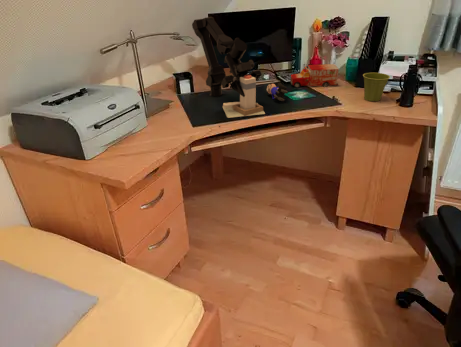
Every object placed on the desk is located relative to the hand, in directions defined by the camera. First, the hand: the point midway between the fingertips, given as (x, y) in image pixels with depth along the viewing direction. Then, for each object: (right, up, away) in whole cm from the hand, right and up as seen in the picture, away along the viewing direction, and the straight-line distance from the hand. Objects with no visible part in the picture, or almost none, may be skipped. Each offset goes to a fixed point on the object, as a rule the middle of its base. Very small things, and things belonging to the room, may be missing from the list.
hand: (249, 95), depth 155 cm
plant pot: (+60, +1, +14) cm, 62 cm away
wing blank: (-7, -3, +10) cm, 13 cm away
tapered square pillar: (0, -5, +4) cm, 7 cm away
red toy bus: (+37, +14, +38) cm, 55 cm away
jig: (-2, -7, +6) cm, 9 cm away
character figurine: (+15, +3, +20) cm, 25 cm away
